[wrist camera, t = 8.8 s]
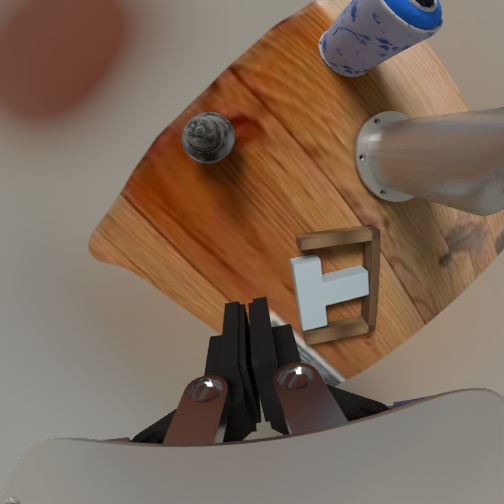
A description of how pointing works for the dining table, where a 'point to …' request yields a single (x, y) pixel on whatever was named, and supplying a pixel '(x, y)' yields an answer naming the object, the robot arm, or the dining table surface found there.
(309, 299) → the t block
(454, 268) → the dining table surface
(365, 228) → the corral
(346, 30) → the aerosol can
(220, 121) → the grey stone statue
